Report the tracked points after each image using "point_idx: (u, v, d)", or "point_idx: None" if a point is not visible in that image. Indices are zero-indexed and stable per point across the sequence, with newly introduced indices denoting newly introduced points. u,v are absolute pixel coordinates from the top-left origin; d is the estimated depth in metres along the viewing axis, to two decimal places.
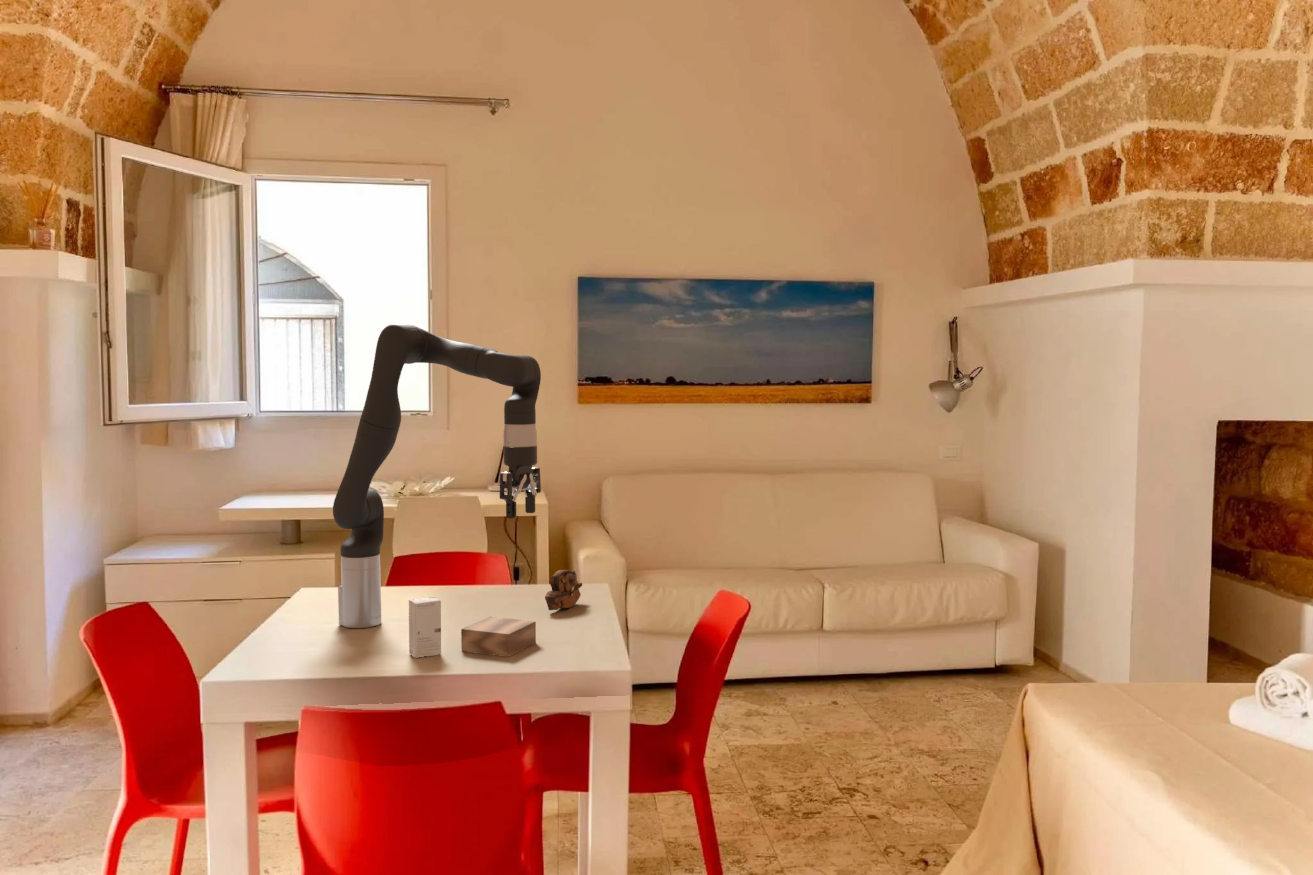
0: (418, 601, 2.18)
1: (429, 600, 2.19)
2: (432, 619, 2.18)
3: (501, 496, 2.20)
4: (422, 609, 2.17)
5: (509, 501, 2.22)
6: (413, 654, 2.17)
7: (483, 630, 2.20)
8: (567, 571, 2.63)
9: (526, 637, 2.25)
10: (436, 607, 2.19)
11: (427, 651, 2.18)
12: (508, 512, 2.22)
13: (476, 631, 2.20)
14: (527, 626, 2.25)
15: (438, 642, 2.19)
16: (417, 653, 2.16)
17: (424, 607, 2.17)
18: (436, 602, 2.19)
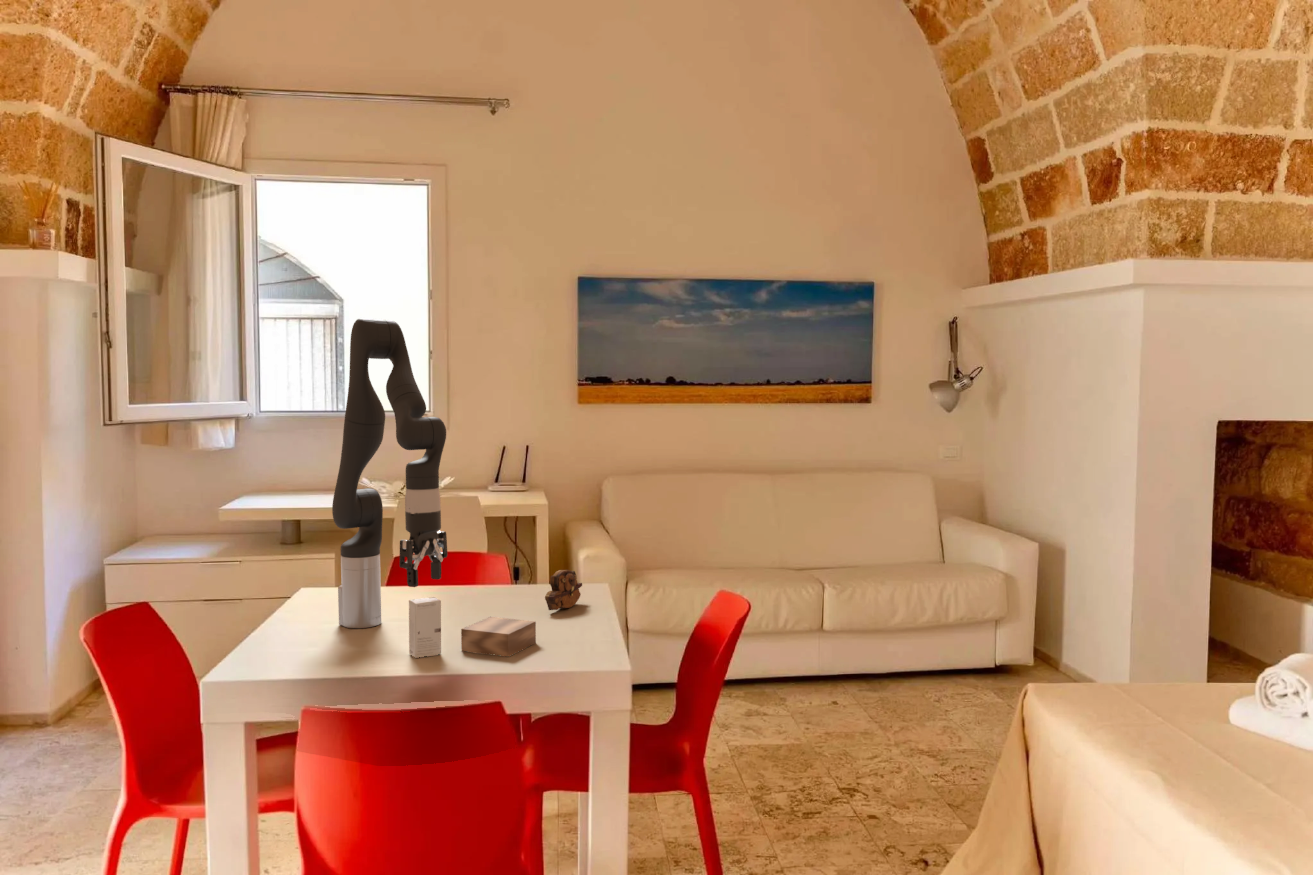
0: (418, 601, 2.18)
1: (429, 600, 2.19)
2: (432, 619, 2.18)
3: (401, 565, 2.12)
4: (422, 609, 2.17)
5: (410, 569, 2.13)
6: (413, 654, 2.17)
7: (483, 630, 2.20)
8: (567, 571, 2.63)
9: (526, 637, 2.25)
10: (436, 607, 2.19)
11: (427, 651, 2.18)
12: (409, 581, 2.14)
13: (476, 631, 2.20)
14: (527, 626, 2.25)
15: (438, 642, 2.19)
16: (417, 653, 2.16)
17: (424, 607, 2.17)
18: (436, 602, 2.19)
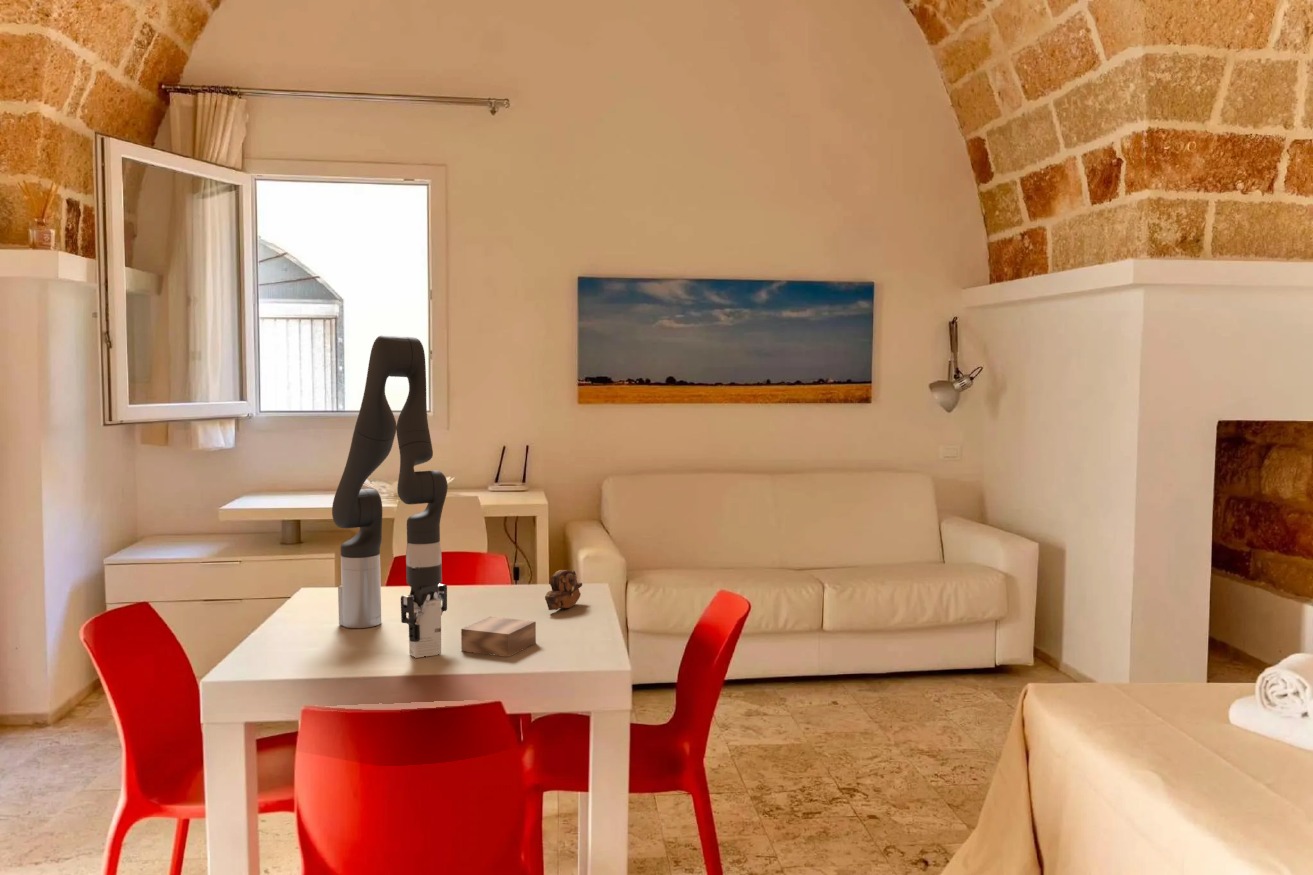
0: None
1: (429, 600, 2.19)
2: (432, 618, 2.18)
3: (403, 620, 2.13)
4: None
5: (412, 625, 2.14)
6: (413, 654, 2.17)
7: (483, 630, 2.20)
8: (567, 571, 2.63)
9: (526, 637, 2.25)
10: (436, 607, 2.19)
11: (427, 651, 2.18)
12: (411, 635, 2.15)
13: (476, 631, 2.20)
14: (527, 626, 2.25)
15: (438, 642, 2.19)
16: (417, 653, 2.16)
17: None
18: (436, 602, 2.19)
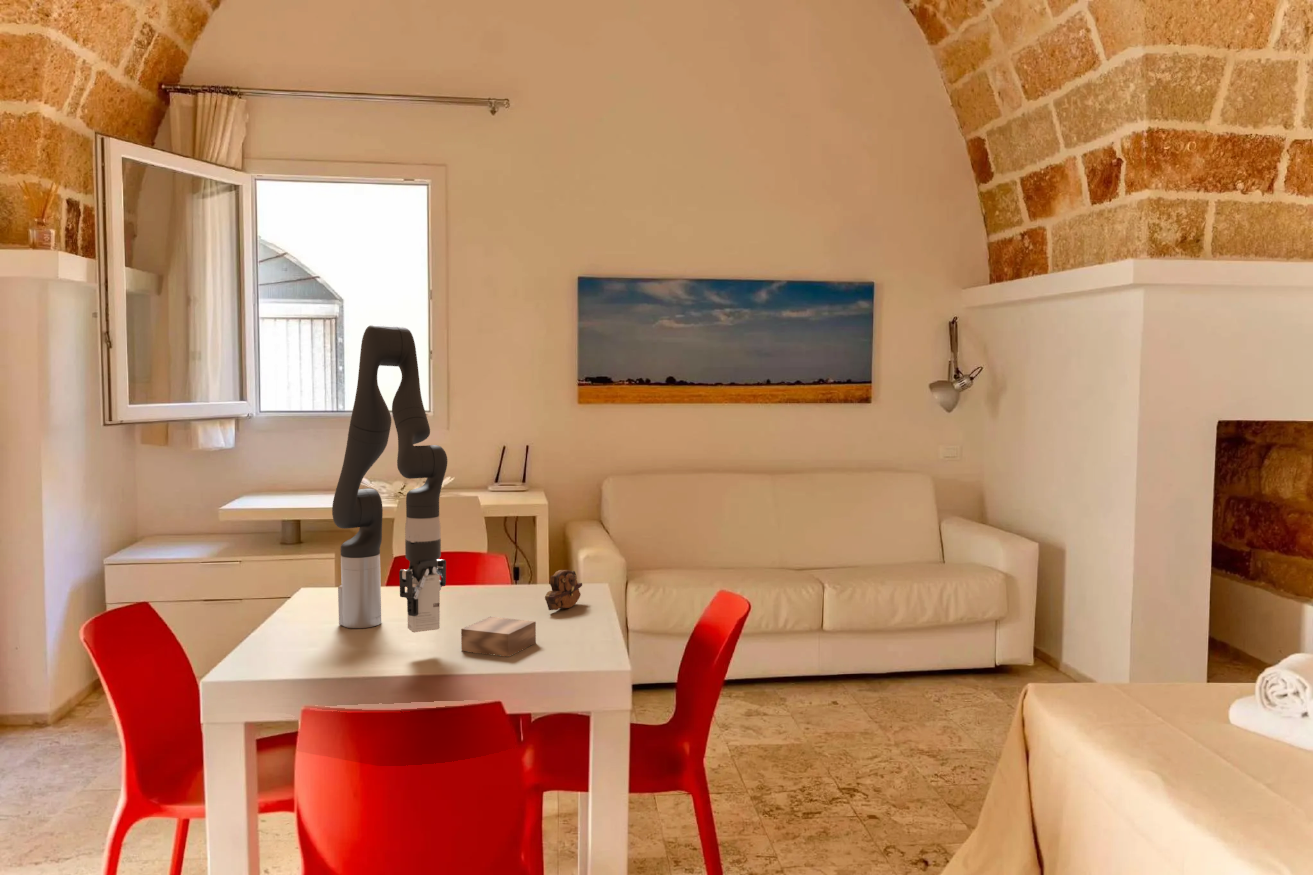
0: None
1: (428, 575, 2.18)
2: (430, 593, 2.18)
3: (401, 594, 2.13)
4: None
5: (410, 599, 2.14)
6: (411, 628, 2.17)
7: (483, 630, 2.20)
8: (567, 571, 2.63)
9: (526, 637, 2.25)
10: (435, 582, 2.18)
11: (425, 625, 2.17)
12: (409, 610, 2.15)
13: (476, 631, 2.20)
14: (527, 626, 2.25)
15: (437, 617, 2.19)
16: (416, 628, 2.16)
17: None
18: (435, 577, 2.18)
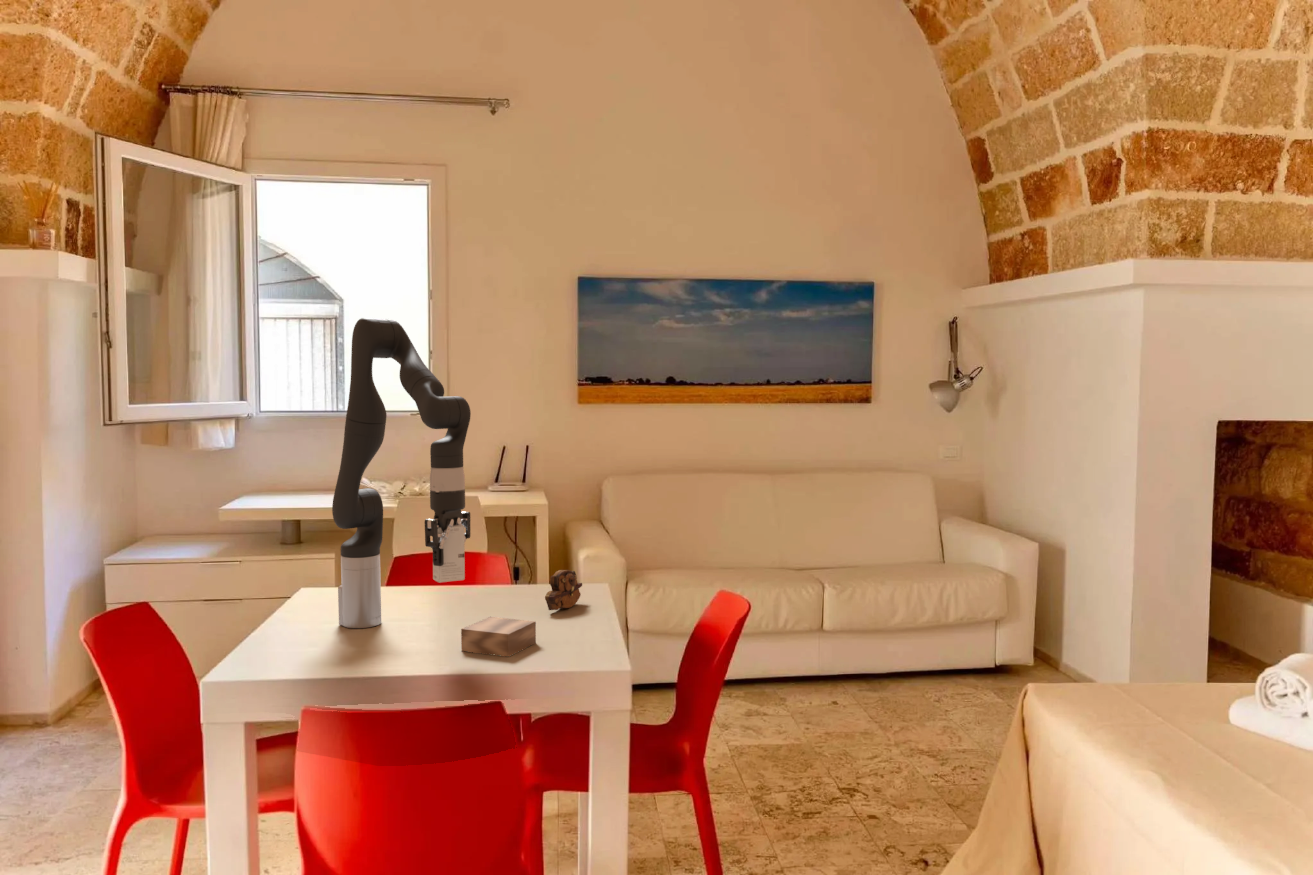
0: None
1: (453, 525, 2.19)
2: (455, 544, 2.19)
3: (427, 544, 2.14)
4: None
5: (435, 548, 2.15)
6: (437, 579, 2.18)
7: (483, 630, 2.20)
8: (567, 571, 2.63)
9: (526, 637, 2.25)
10: (460, 532, 2.19)
11: (450, 576, 2.18)
12: (435, 560, 2.16)
13: (476, 631, 2.20)
14: (527, 626, 2.25)
15: (462, 567, 2.19)
16: (441, 578, 2.17)
17: None
18: (460, 527, 2.19)
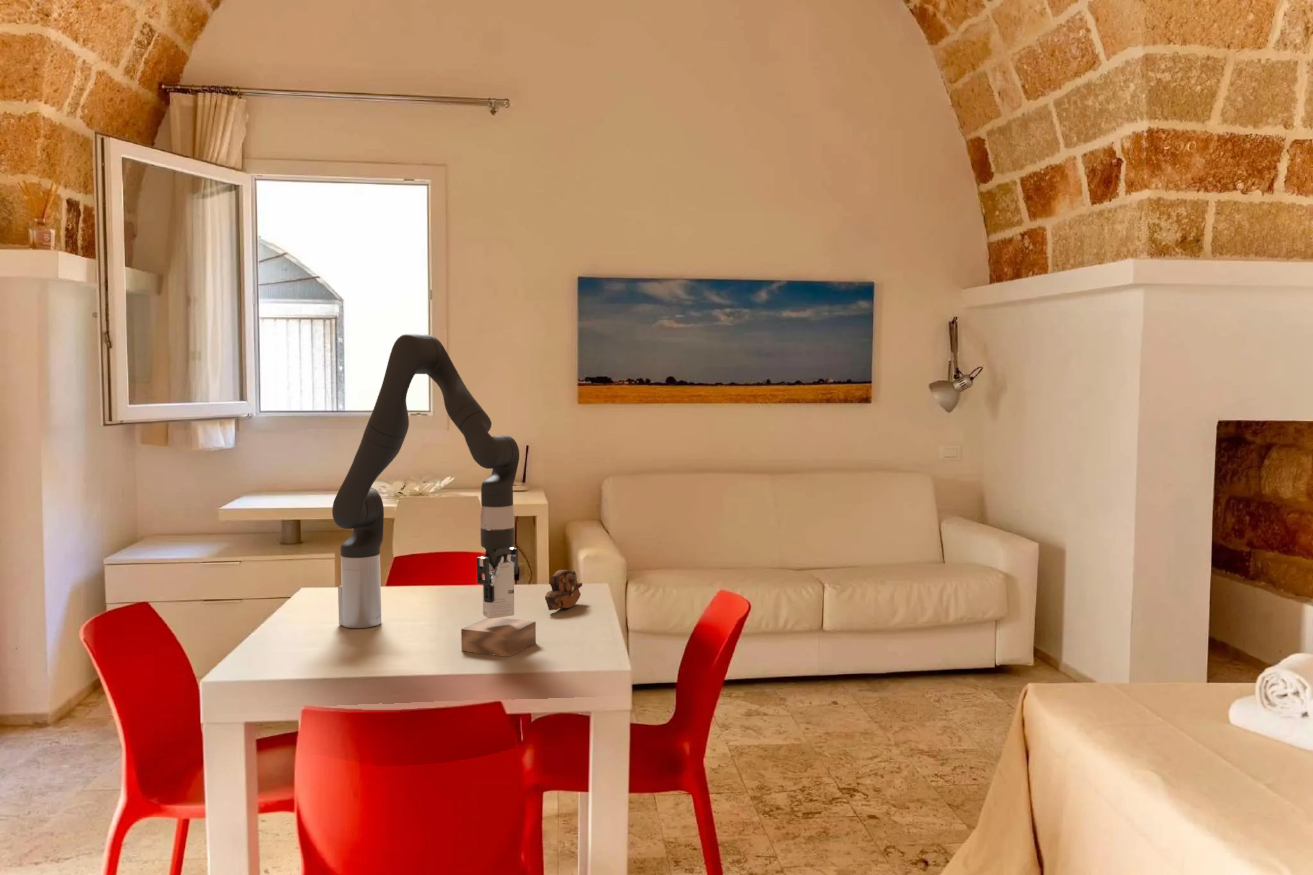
0: None
1: (503, 562, 2.24)
2: (505, 580, 2.23)
3: (479, 581, 2.18)
4: None
5: (487, 585, 2.20)
6: (487, 615, 2.22)
7: (483, 630, 2.20)
8: (567, 571, 2.63)
9: (526, 637, 2.25)
10: (510, 569, 2.24)
11: (501, 612, 2.23)
12: (486, 596, 2.20)
13: (476, 631, 2.20)
14: (527, 626, 2.25)
15: (511, 603, 2.24)
16: (492, 614, 2.22)
17: None
18: (509, 564, 2.24)
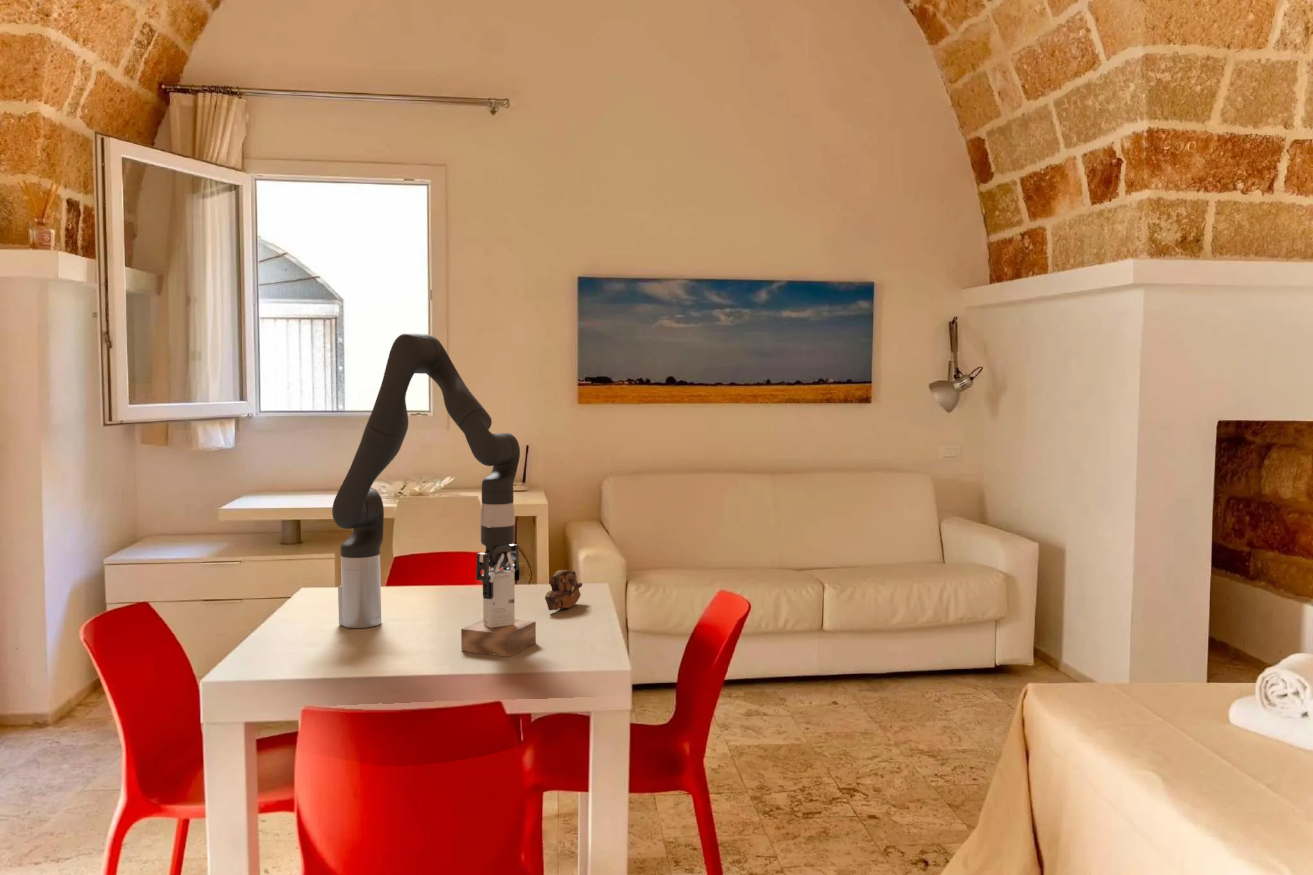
0: None
1: (503, 572, 2.24)
2: (506, 590, 2.24)
3: (478, 577, 2.18)
4: (497, 580, 2.22)
5: (486, 582, 2.19)
6: (488, 624, 2.23)
7: (483, 630, 2.20)
8: (567, 571, 2.63)
9: (526, 637, 2.25)
10: (510, 579, 2.24)
11: (501, 621, 2.23)
12: (485, 593, 2.20)
13: (476, 631, 2.20)
14: (527, 626, 2.25)
15: (512, 613, 2.25)
16: (492, 624, 2.22)
17: (499, 579, 2.23)
18: (510, 574, 2.24)
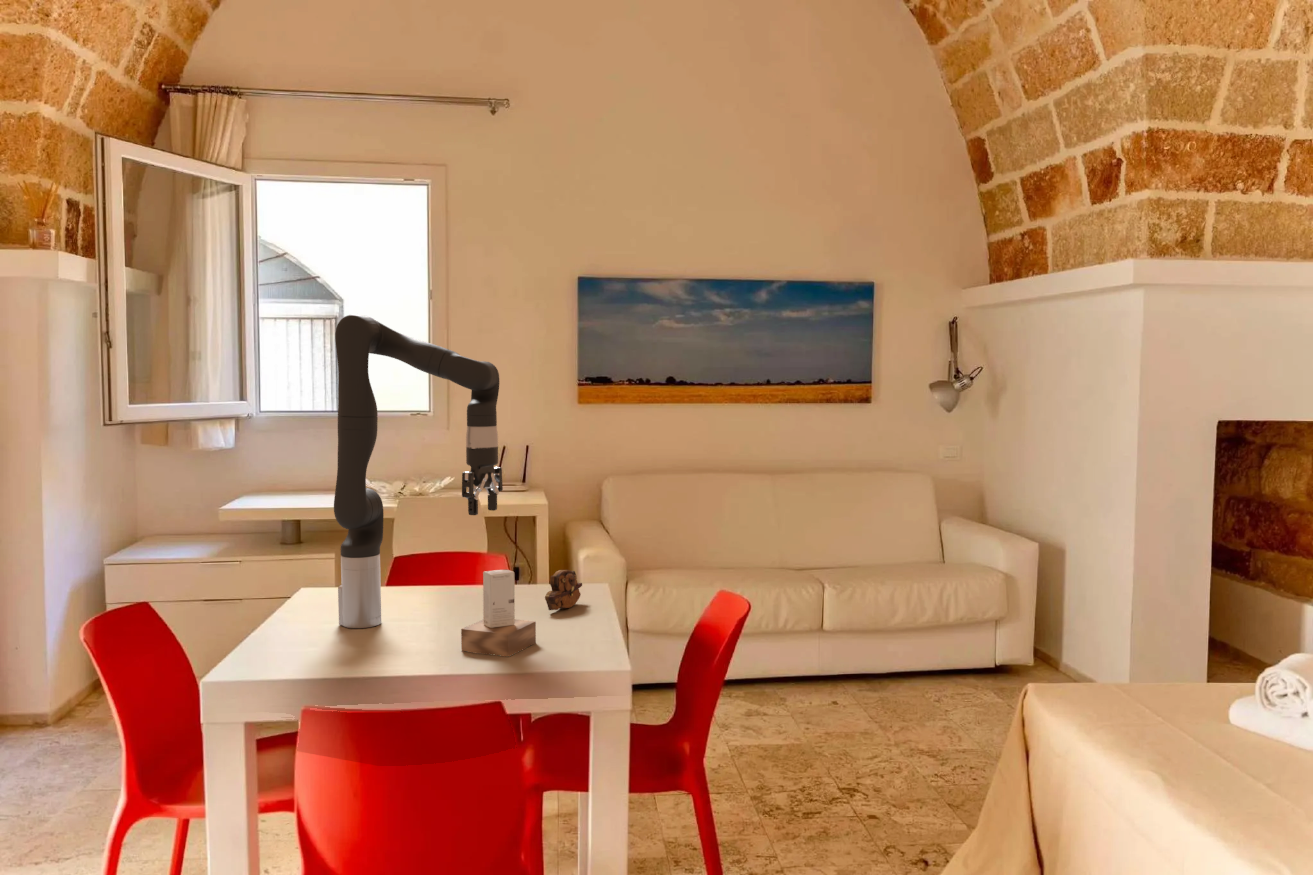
0: (493, 572, 2.23)
1: (503, 572, 2.24)
2: (506, 590, 2.24)
3: (463, 494, 2.33)
4: (497, 580, 2.22)
5: (471, 499, 2.35)
6: (488, 624, 2.23)
7: (483, 630, 2.20)
8: (567, 571, 2.63)
9: (526, 637, 2.25)
10: (510, 579, 2.24)
11: (501, 621, 2.23)
12: (470, 509, 2.35)
13: (476, 631, 2.20)
14: (527, 626, 2.25)
15: (512, 613, 2.25)
16: (492, 623, 2.22)
17: (499, 579, 2.23)
18: (510, 574, 2.24)
